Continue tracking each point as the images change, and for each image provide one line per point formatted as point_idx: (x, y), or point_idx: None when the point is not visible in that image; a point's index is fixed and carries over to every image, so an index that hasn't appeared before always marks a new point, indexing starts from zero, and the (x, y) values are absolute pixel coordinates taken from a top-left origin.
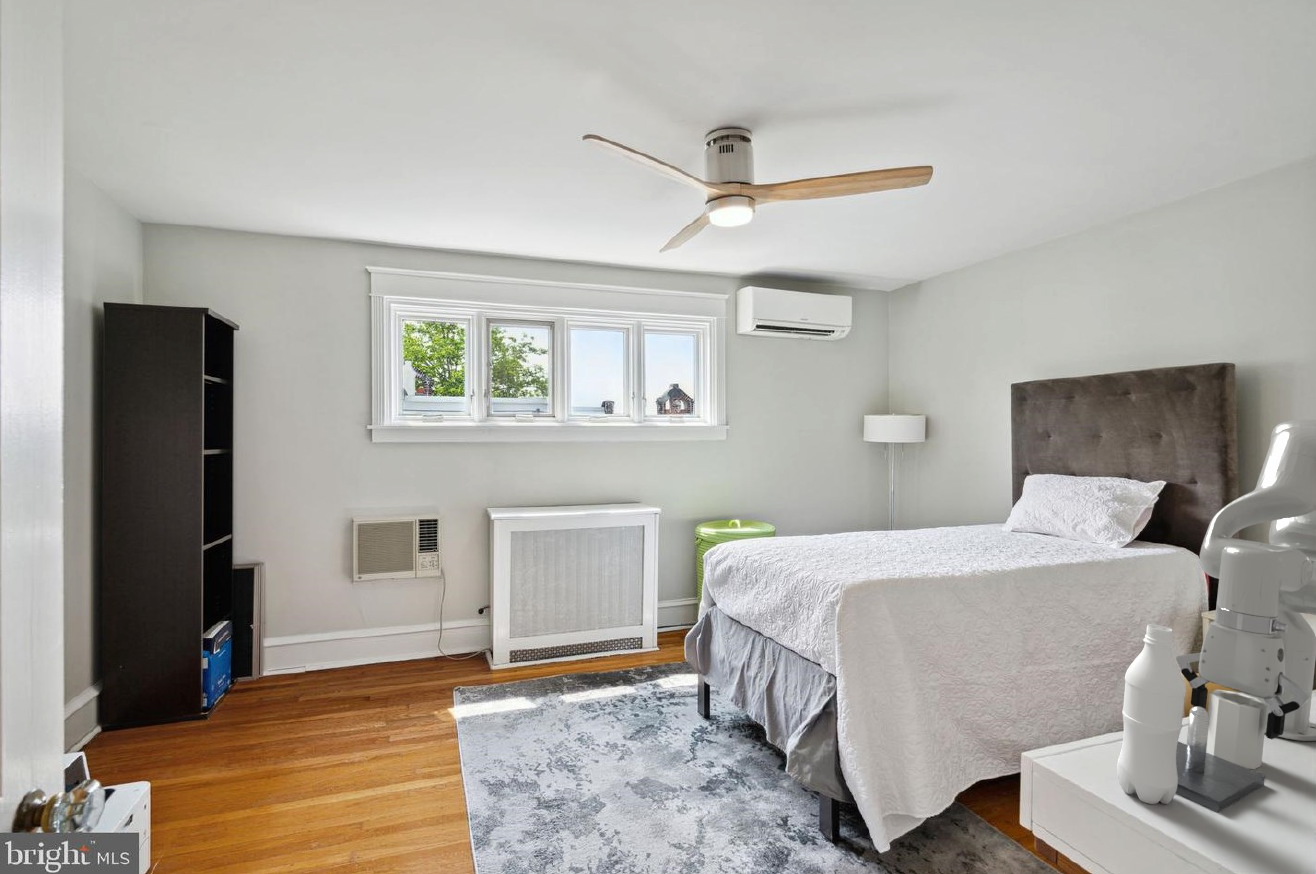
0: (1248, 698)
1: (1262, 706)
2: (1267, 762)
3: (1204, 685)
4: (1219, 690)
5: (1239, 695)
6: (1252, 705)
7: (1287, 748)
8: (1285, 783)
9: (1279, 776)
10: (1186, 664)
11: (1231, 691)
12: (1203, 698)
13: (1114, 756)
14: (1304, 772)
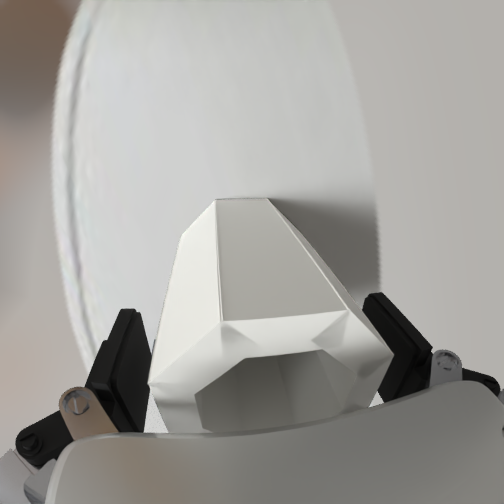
0: (311, 350)
1: (376, 384)
2: (302, 187)
3: (116, 423)
4: (164, 389)
5: (260, 354)
6: (341, 410)
7: (297, 17)
8: (351, 277)
9: (338, 252)
10: (45, 498)
11: (200, 340)
12: (136, 380)
13: (153, 428)
14: (369, 161)
